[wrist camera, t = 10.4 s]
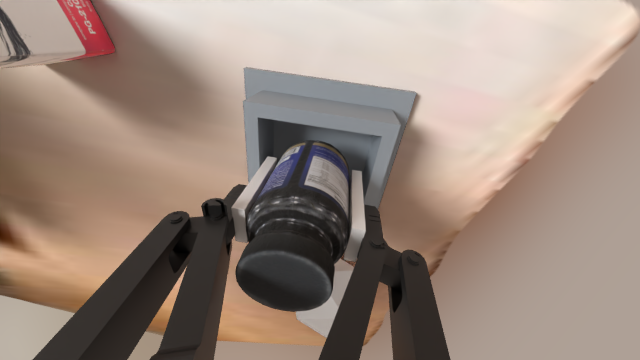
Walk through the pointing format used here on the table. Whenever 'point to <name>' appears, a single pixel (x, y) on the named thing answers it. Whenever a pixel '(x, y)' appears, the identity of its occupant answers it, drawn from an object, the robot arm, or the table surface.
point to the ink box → (50, 32)
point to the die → (328, 302)
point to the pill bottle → (297, 229)
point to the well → (326, 122)
